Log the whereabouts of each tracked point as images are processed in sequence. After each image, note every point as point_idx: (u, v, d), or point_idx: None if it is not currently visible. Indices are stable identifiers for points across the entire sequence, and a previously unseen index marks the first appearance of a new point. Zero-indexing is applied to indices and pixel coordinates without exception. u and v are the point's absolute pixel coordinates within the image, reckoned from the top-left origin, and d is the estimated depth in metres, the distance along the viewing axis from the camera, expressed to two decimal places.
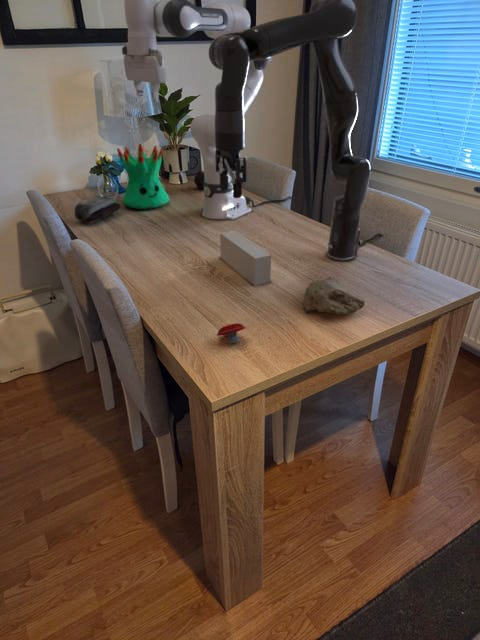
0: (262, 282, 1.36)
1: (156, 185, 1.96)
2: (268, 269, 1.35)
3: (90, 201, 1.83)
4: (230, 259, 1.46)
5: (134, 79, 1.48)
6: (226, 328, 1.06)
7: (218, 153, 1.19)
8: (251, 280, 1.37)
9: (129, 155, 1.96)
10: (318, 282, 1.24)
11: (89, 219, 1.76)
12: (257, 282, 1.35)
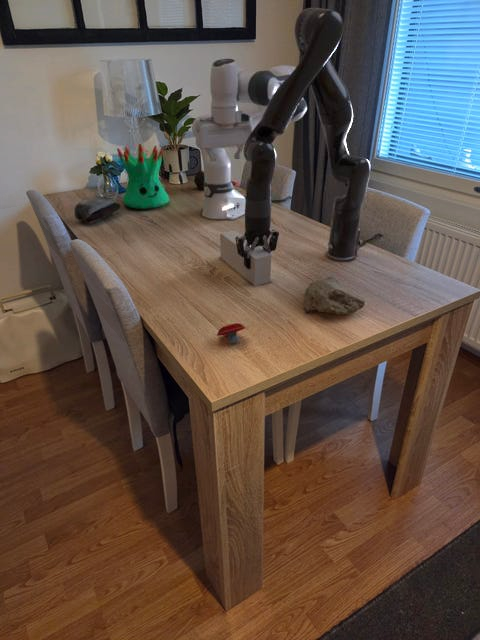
0: (262, 282, 1.36)
1: (156, 185, 1.96)
2: (268, 269, 1.35)
3: (90, 201, 1.83)
4: (230, 259, 1.46)
5: None
6: (226, 328, 1.06)
7: None
8: (251, 280, 1.37)
9: (129, 155, 1.96)
10: (318, 282, 1.24)
11: (89, 219, 1.76)
12: (257, 282, 1.35)
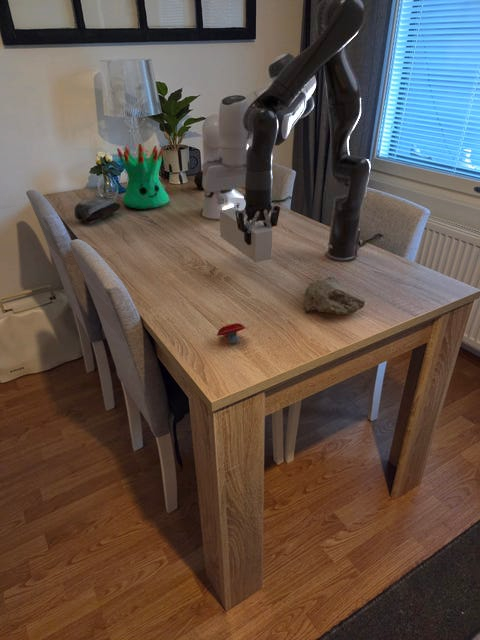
0: (263, 259, 1.32)
1: (156, 185, 1.96)
2: (269, 245, 1.31)
3: (90, 201, 1.83)
4: (230, 236, 1.42)
5: None
6: (226, 328, 1.06)
7: None
8: (251, 257, 1.32)
9: (129, 155, 1.96)
10: (318, 282, 1.24)
11: (89, 219, 1.76)
12: (257, 259, 1.31)
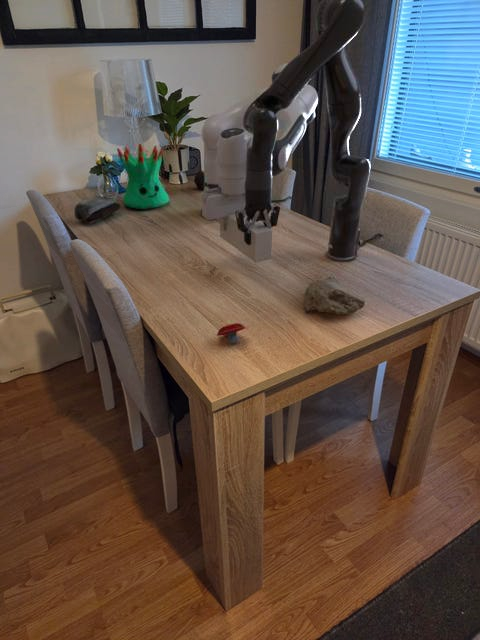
0: (263, 259, 1.32)
1: (156, 185, 1.96)
2: (269, 245, 1.31)
3: (90, 201, 1.83)
4: (230, 236, 1.42)
5: None
6: (226, 328, 1.06)
7: None
8: (251, 257, 1.32)
9: (129, 155, 1.96)
10: (318, 282, 1.24)
11: (89, 219, 1.76)
12: (257, 259, 1.31)
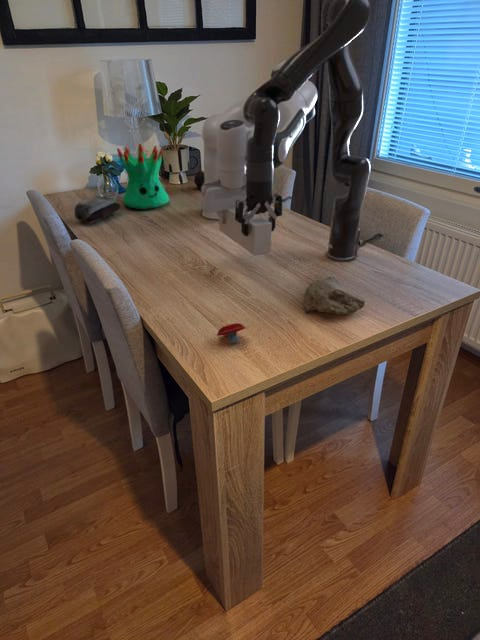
0: (262, 252, 1.31)
1: (156, 185, 1.96)
2: (268, 238, 1.30)
3: (90, 201, 1.83)
4: (229, 230, 1.41)
5: None
6: (226, 328, 1.06)
7: None
8: (250, 250, 1.31)
9: (129, 155, 1.96)
10: (318, 282, 1.24)
11: (89, 219, 1.76)
12: (256, 252, 1.30)
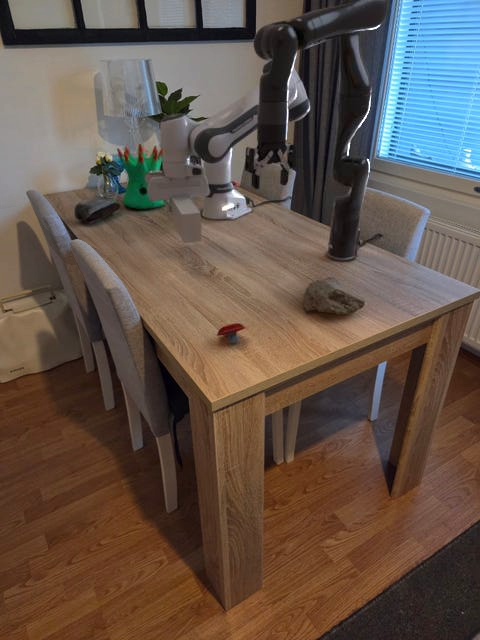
0: (192, 240, 1.36)
1: None
2: (198, 227, 1.35)
3: (90, 201, 1.83)
4: (173, 218, 1.48)
5: None
6: (226, 328, 1.06)
7: None
8: (182, 238, 1.37)
9: (129, 155, 1.96)
10: (318, 282, 1.24)
11: (89, 219, 1.76)
12: (186, 240, 1.36)
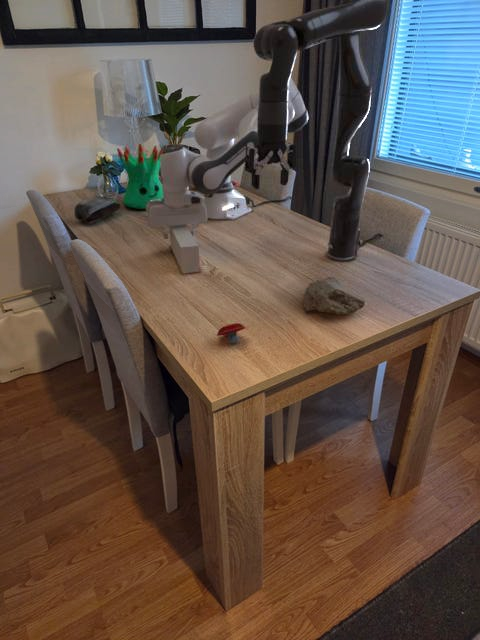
0: (191, 271, 1.42)
1: (156, 185, 1.96)
2: (196, 259, 1.41)
3: (90, 201, 1.83)
4: (173, 248, 1.54)
5: None
6: (226, 328, 1.06)
7: None
8: (181, 269, 1.44)
9: (129, 155, 1.96)
10: (318, 282, 1.24)
11: (89, 219, 1.76)
12: (185, 271, 1.42)
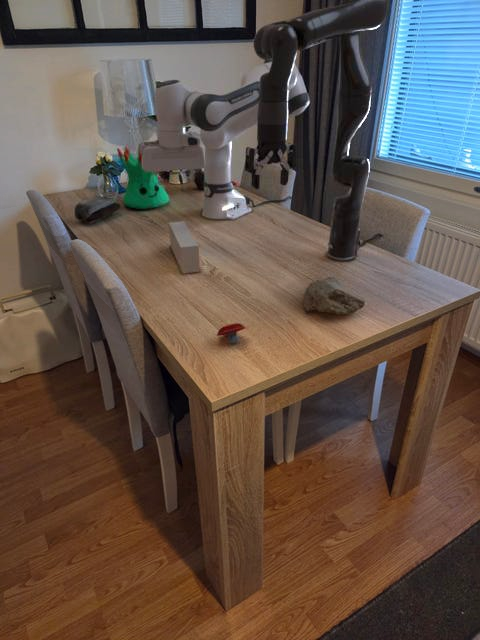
0: (191, 271, 1.42)
1: (156, 185, 1.96)
2: (196, 259, 1.41)
3: (90, 201, 1.83)
4: (173, 248, 1.54)
5: None
6: (226, 328, 1.06)
7: None
8: (181, 269, 1.44)
9: (129, 155, 1.96)
10: (318, 282, 1.24)
11: (89, 219, 1.76)
12: (185, 271, 1.42)
